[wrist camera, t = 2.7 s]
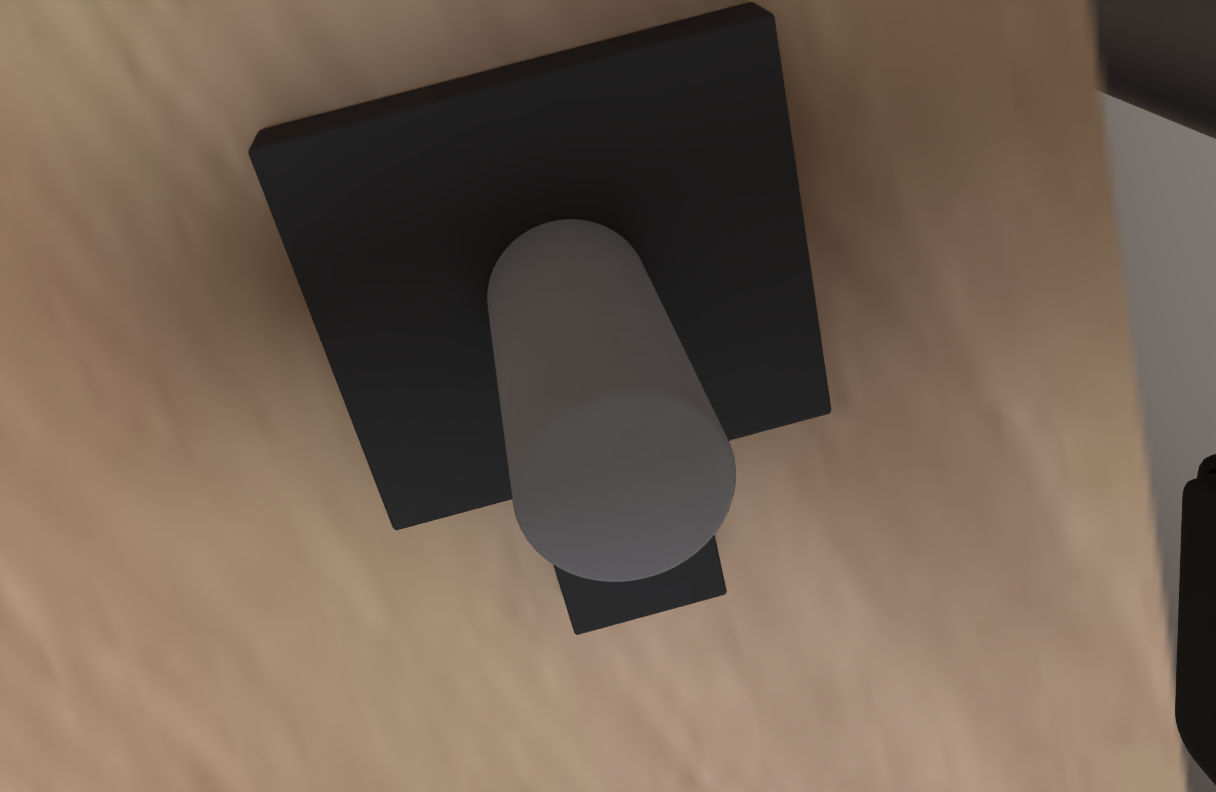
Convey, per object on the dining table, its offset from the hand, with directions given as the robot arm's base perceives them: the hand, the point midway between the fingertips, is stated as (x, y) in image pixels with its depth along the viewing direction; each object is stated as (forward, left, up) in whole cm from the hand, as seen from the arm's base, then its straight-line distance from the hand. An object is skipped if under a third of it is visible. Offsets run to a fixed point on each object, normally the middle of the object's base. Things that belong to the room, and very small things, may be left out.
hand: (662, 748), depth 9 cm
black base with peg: (0, +2, -11) cm, 11 cm away
